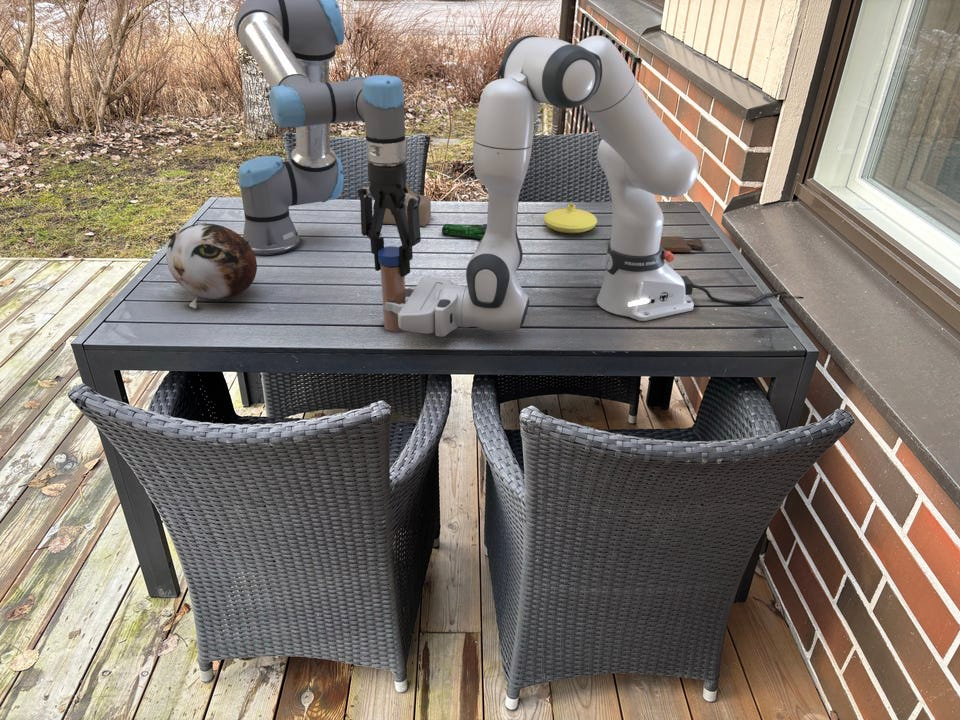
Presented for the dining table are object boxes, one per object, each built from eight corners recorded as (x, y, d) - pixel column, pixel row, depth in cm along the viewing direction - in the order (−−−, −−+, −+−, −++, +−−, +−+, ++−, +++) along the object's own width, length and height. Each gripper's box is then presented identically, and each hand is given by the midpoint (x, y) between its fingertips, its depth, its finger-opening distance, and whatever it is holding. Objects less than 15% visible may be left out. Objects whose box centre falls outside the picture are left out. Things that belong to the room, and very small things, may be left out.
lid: (378, 267, 147) (377, 257, 146) (378, 256, 152) (377, 246, 151) (406, 265, 148) (406, 256, 146) (405, 255, 152) (404, 245, 151)
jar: (381, 322, 159) (377, 251, 150) (403, 319, 160) (400, 248, 152) (386, 332, 155) (382, 260, 146) (409, 329, 156) (406, 257, 148)
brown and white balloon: (130, 285, 161) (164, 203, 163) (192, 308, 177) (221, 233, 178) (195, 307, 151) (229, 220, 152) (254, 330, 166) (285, 250, 168)
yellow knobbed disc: (559, 216, 220) (561, 193, 217) (605, 227, 212) (608, 204, 209) (532, 230, 209) (533, 207, 206) (580, 242, 201) (582, 218, 198)
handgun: (511, 219, 210) (493, 234, 198) (511, 228, 211) (492, 244, 199) (461, 212, 215) (440, 226, 203) (461, 221, 217) (440, 236, 204)
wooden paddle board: (706, 254, 196) (698, 241, 204) (708, 249, 195) (699, 236, 203) (612, 251, 196) (608, 238, 205) (613, 245, 195) (608, 232, 204)
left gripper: (336, 159, 140) (346, 268, 152) (417, 173, 133) (420, 287, 144) (359, 150, 146) (366, 257, 157) (437, 163, 138) (439, 273, 150)
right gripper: (463, 272, 159) (403, 266, 161) (440, 313, 142) (374, 306, 144) (463, 298, 162) (404, 292, 165) (441, 340, 145) (376, 333, 147)
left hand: (392, 271), depth 151 cm, fingers closed on lid, 6 cm apart
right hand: (390, 298), depth 154 cm, fingers closed on jar, 5 cm apart
